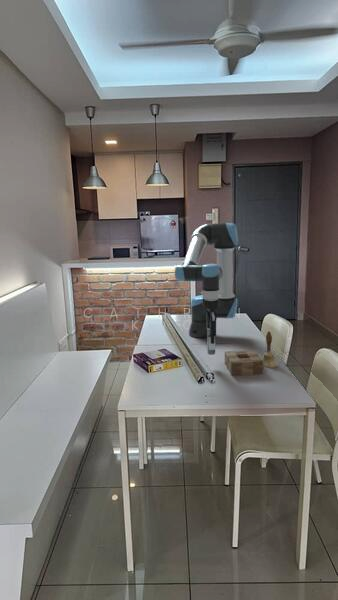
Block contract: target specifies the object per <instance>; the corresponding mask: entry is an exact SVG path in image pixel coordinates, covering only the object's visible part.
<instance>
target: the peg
mask: <svg viewBox="0 0 338 600" xmlns="http://www.w3.org/2000/svg"><path fill="white" fill-rule="evenodd" d="M208 335H210V333H209V328H207V337H206V339H207V340H206V341H207V342H206V343H207V344H206V345H207V348H206V349H207V354H208V355H210V356H211V355H215V354H216V349H215V350H209V337H208Z"/></svg>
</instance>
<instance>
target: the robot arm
mask: <svg viewBox="0 0 338 600" xmlns="http://www.w3.org/2000/svg"><path fill="white" fill-rule="evenodd" d="M189 243H190V244H189V246H188V249H187V251H186V253H185V254H186V255H185V257H184V260H183V263H182V264H179V265H176V266H175V268H174V277H175V279H176V281H179V282H202V283H201V285H202V287H201V288H202V292H200V295H196V296H193V297H192V298H191V302H190V303H191V304H190V306H191V307H190V312H191V313H190V314H191V323H190V326H189V329H188V335H189V336H190V337H193V338H199V339H203V338H205V339H207V328H209V333H210V335H208V337H209V350H215V351H216V337H217V319H227V320H228V319H234V318H235V317H236V313H237V307H238V300H239V299H238V298H237V297H236V295H235V294H234V293H233V251H234V250H235V249H236V246H237V245H238V244H239V235H238V229H237V225H236V224H235V223H232V222H231V223H230V222H222V223H221V222H219V223H205V224H202V225H200V226H199V227H198V228H196V229H195V230H194V231H193V233H191V236H190V237H189ZM209 245H210V246H213V249H214V250H215V251H216V263H206V264H203V265H199V264H200V261H201V258H202V256H203V253H204V248H206V247H207V246H209Z"/></svg>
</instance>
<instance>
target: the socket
mask: <svg viewBox="0 0 338 600" xmlns="http://www.w3.org/2000/svg"><path fill="white" fill-rule="evenodd" d="M224 365H225V366H226V369H227V370H228V372H229V374H230V376H231V377H235V376H236V377H237V376H250V375H253V376H254V375H263V373H264V367H263V358H262V357H260V356H259V354H258V353H257V352H256V351H255V349H249V350H233V351H232V350H230V351H229V350H228V351H224Z"/></svg>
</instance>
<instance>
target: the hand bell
mask: <svg viewBox="0 0 338 600" xmlns="http://www.w3.org/2000/svg"><path fill="white" fill-rule="evenodd" d="M266 333H267V334H266V336H265V342H266V345H267V346H266V352H264V353H263V357H262V360H263V368H267V369H273V368H278V365H279V363H278V362H277V361H276V359H275V354H274V353H273V352H272V351H271V349H272V348H271V346H272V345H271V344H272V341H273V337H272V333H271V331H267V332H266Z"/></svg>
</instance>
